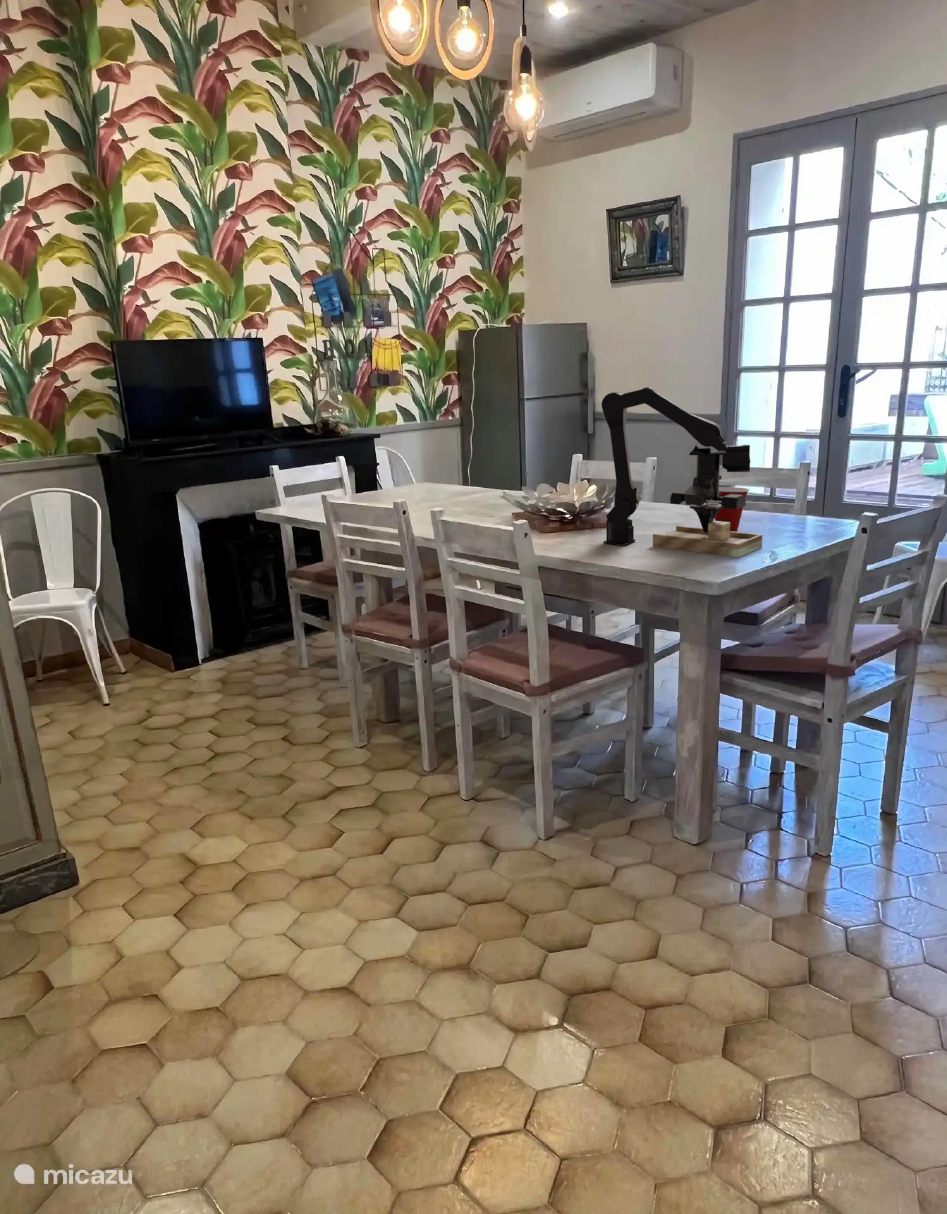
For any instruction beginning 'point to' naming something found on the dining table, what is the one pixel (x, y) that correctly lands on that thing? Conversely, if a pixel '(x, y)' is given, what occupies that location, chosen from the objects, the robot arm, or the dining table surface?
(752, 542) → the wooden tray box
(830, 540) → the dining table surface
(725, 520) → the plastic cup
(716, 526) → the block
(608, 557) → the dining table surface
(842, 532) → the dining table surface
